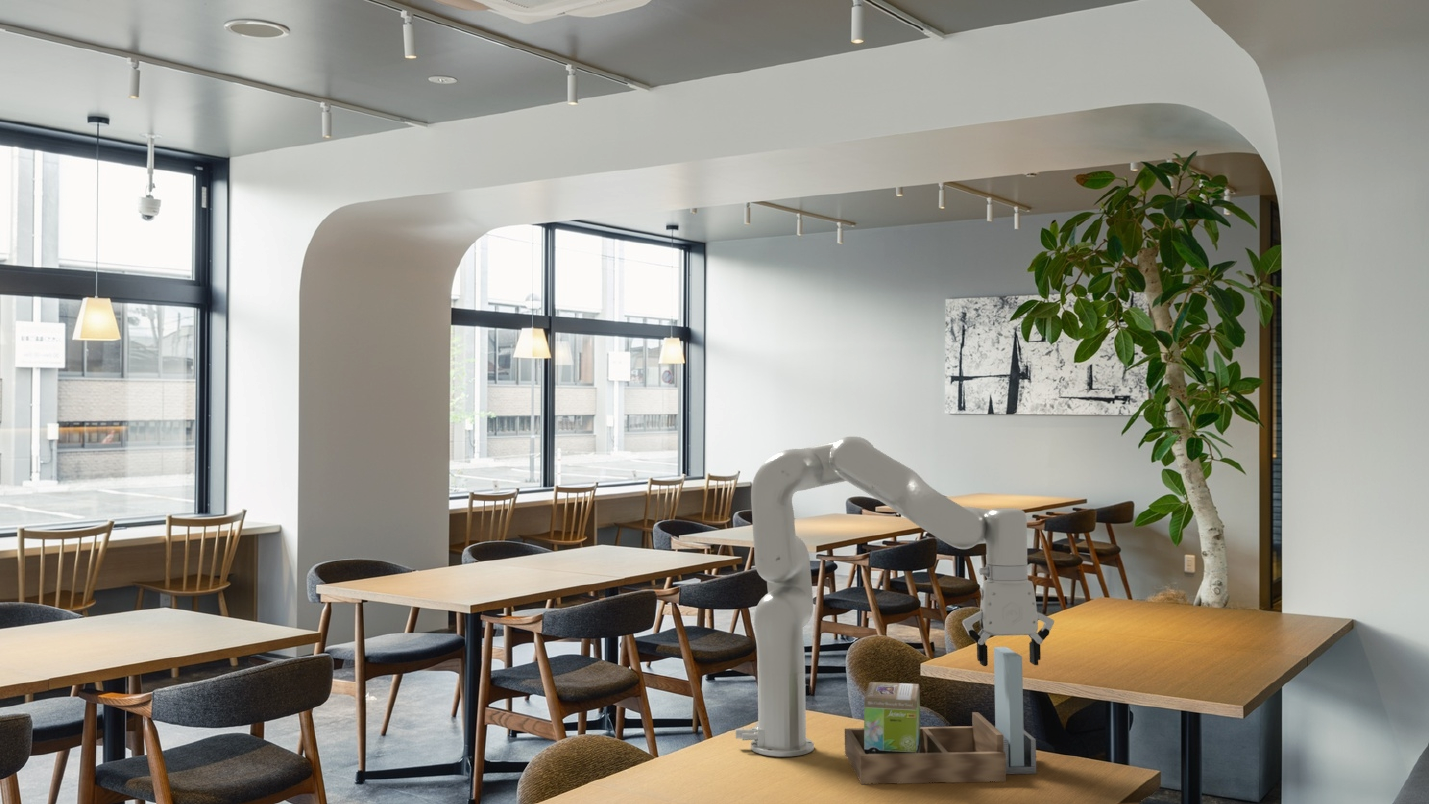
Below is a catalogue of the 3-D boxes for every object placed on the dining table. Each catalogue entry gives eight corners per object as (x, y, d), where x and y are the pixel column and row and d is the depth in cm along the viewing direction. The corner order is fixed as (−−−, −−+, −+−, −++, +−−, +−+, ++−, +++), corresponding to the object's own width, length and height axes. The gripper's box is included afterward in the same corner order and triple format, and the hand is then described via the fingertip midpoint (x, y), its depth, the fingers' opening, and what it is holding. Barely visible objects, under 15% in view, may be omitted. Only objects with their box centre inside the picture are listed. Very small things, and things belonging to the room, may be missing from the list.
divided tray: (861, 784, 207) (860, 739, 207) (844, 754, 227) (844, 713, 227) (1006, 781, 208) (1005, 736, 208) (977, 751, 228) (976, 710, 228)
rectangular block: (1010, 765, 213) (1008, 656, 214) (995, 751, 223) (993, 647, 224) (1024, 765, 213) (1022, 656, 214) (1008, 751, 223) (1006, 647, 224)
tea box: (918, 781, 209) (917, 698, 209) (863, 778, 211) (861, 696, 211) (921, 758, 223) (919, 681, 224) (868, 756, 225) (867, 680, 226)
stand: (1004, 774, 212) (1003, 740, 212) (986, 756, 224) (985, 724, 224) (1036, 773, 212) (1035, 739, 213) (1017, 755, 224) (1016, 723, 225)
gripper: (967, 576, 215) (968, 669, 215) (1058, 575, 216) (1060, 667, 215) (957, 572, 223) (958, 661, 222) (1045, 571, 223) (1047, 660, 223)
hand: (1008, 664), depth 219 cm, fingers open, 9 cm apart
